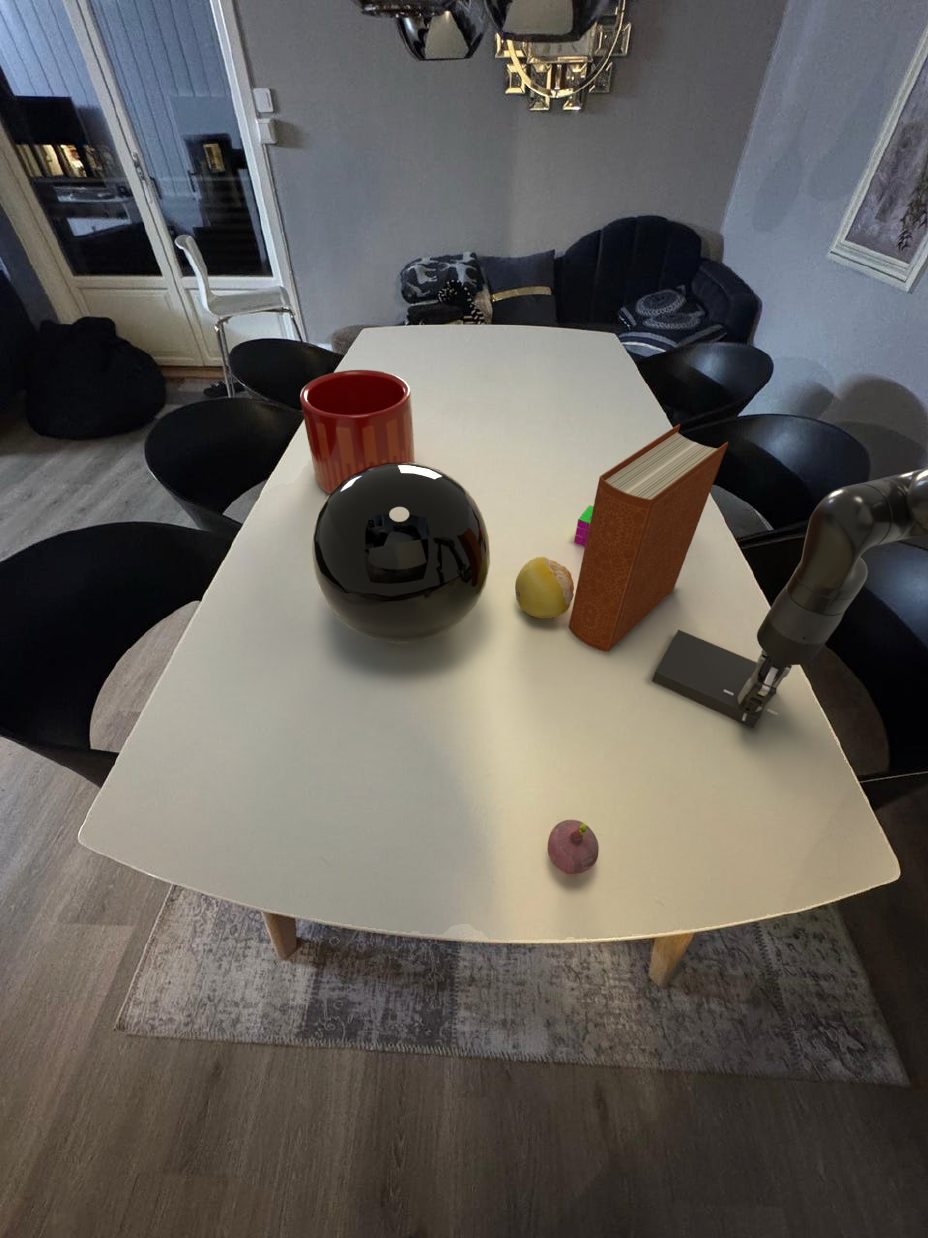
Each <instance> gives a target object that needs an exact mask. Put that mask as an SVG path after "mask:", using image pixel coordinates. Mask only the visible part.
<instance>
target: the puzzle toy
mask: <svg viewBox="0 0 928 1238" xmlns="http://www.w3.org/2000/svg"><path fill="white" fill-rule="evenodd" d="M593 506H594V505H591V504H589V505H588V506H587V507H586V509H585V510H584V511H583V513H582V514H581V515H580V516H579V518H577V524H576V529H575V530H576V531H575V534H574V540H573V542H574V543H575V544H578V545H580V546H584V547H585V545H586V540H587V535H588V531H589V526H590V521H591V516H592V511H593Z"/></svg>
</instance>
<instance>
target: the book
mask: <svg viewBox="0 0 928 1238" xmlns="http://www.w3.org/2000/svg"><path fill="white" fill-rule="evenodd" d="M681 424H682V423H681ZM681 424H680V423H678V424H677V425H675V426H673V427H672V428H671V429H669V430H668V431H666V432H665V433H663V434H661V435H660V436H659V437H657V438H656V439H654V440H653V441H651V442H650V443H648V444H646V445H644V446H643V447H642V448H640V449H639V450H637V451H636V452H634V453H633V454H631V455H629V457H626V458H625V459H624V460H622V461H621V462H619V463H617V464H616V465H615V466H613V467H612V468H609V470H607V471H606V472H604V473H602V474H601V475H600V476H599V477H598V478H599V479H598V483H597V488H596V491H595V492H596V493H595V497H594V502H593V505H592V506H593V511H592V516H591V521H590V526H589V531H588V535H587V540H586V545H585V546H584V549H583V556H582V560H581V565H580V568H579V569H580V570H579V575H578V580H577V585H576V589H575V594H574V597H573V603H572V607H571V614H570V618H569V623H568V629H569V630H570V632H571V633H572V634H573V635H574V636H575V637H576V638H577V639H578V640H579V641H581V642H582V643H584V644H586V645H587V646H590V647H591V648H594V649H596V650H599V651H603V652H606V653H608V652H609V651H610V650H612V649H613V647H615V646H616V645H617V644H618V643H619V642H620V641H621V640H622V639H623V638H624V637H625V636H626V635H627V634H628V633H629V632H631V630H632V629H633V628H634V627H636V626H637V625H638V624H639V623H640V622H641V621H642V620H643V619H644V618H645V617H646V616H647V615H649V613H651V612H652V611H653V610H654V609H655V608H656V607H657V606H658V605H659V604H660V603H661V602H662V601H663V600H664V599H666V598H667V596H669V594H671V593H672V592H673V591H674V589H675V588H676V584H677V582H678V579H679V576H680V573H681V571H682V568H683V565H684V564H685V563H684V562H685V560H686V557H687V555H688V552H689V549H690V546H691V544H692V541H693V538H694V537H695V533H696V531H697V528H698V524H699V522H700V520H701V517H702V514H703V512H704V510H705V507H706V504H707V501H708V498H709V496H710V493H711V490H712V488H713V485H714V482H715V479H716V478H717V474H718V471H719V469H720V466H721V464H722V461H723V458H724V456H725V453H726V450H727V448H728V445H729V442H728V441H726V442H725V443H723V444H722V445H721V446H719V447H718V448H716V447H711V446H706V445H703V444H701V443H698V442H696V441H693V440H690V439H689V438H687V437H684V436H683V435H682V434H680V433H679V431H680V427H681Z"/></svg>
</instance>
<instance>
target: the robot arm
mask: <svg viewBox="0 0 928 1238" xmlns="http://www.w3.org/2000/svg"><path fill="white" fill-rule="evenodd" d="M926 535H928V466H925V467H924V468H921V469H915V470H912V471H908V472H903V473H899V474H894V475H890V476H886V477H882V478H877V479H872V480H869V481H866V482H865V481H864V482H860V483H855V484H851V485H847V486H842V487H839V488H836V489H835V490H833V491H831V492H829V493H828V494H827V495H825V496H824V498H822V500H820V502H819V503H818V504H817V505H816V506H815V508H814V509H813V512H812V513H811V515H810V517H809V521H808V524H807V529H806V533H805V539H804V543H803V546H802V553H801V559H800V561H799V563H798V564H797V566H796V567H795V570H794V571H793V573H792V575H791V576H790V578H789V579H788V581H787V582H786V584H785V586H784V587H783V588H782V589H781V590H780V592H779V593H778V595H777V596H776V597H775V600H774V602H773V603H772V605H771V607H770V609H769V610H768V612H767V614H766V616H765V617H764V619H763V620H762V622H761V624H760V626H759V628H758V629H757V633H756V640H757V643H758V645H759V646H760V649H762V650H761V653H760V654H759V656H758V659H757V660H756V662H757V666H756V669H755V671H754V672H753V674H752V676H751V679H750V681H751V683H752V684H751V685H750V687H749V689H747V691H746V692H747V693H746V695H745V696H744V698H743V700H742V701H741V703H740V705H739V709H741V710H743V711H745V712H747V713H749V714H754V713H755V712H756V710H757V709H758V707H761V708H763V707H764V708H765V707H766V705H767V704H768V703H769V702H770V700H771V699H772V698H773V697H774V696H776V694H777V689H778V688H779V686H780V684H781V682H782V681H783V679H784V678H787V677H788V675H789V673H790V672H791V670H792V668H793V666H801V665H806V664H809V663H811V662H812V661H814V660H815V658H816V657H817V655H818V654H819V653H820V651H821V650H822V649H823V647H824V646H825V645H826V643H827V641H828V640H829V639H830V637H831V636H832V635H833V633H834V632H835V630H836V629H837V628H838V626H839V625H840V623H841V622H842V619H843V617H844V615H845V612H846V611H847V609H848V608H849V607H850V605H851V604H852V602H853V601H854V599H855V598H856V597H857V595H858V594H859V593H860V591H861V589H862V588H863V587H864V584H865V583H866V581H867V578H868V575H869V571H868V570H869V569H868V566H867V563H866V562H865V561H864V559H863V558H862V557H861V556H862V555H863V554H864V553H865V552H866V551H867V550H868V549H872V548H876V547H880V546H883V545H886V544H891V543H895V542H899V541H903V540H908V539H912V538H916V537H917V538H918V537H921V536H922V537H923V536H926Z"/></svg>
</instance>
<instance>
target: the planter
mask: <svg viewBox="0 0 928 1238" xmlns="http://www.w3.org/2000/svg"><path fill="white" fill-rule="evenodd" d="M299 400H300V405H301V410H302V411H301V412H302V415H303V421H304V426H305V432H306V437H307V442H308V446H309V452H310V457H311V462H312V468H313V473H314V476H315V481H316V482H317V484H318V486H319V487H320V488H321V489H322V490H323V491H324V492H326V493H328V494H330V493H331V492H332V491H333V490H334V489H335V488H336V487H337V486H338V485H339V484H340V483H341V482H342V481H343V480H345V479H346V478H348V477H349V476H351V475H353V474H354V473H356V472H358V471H360V470H362V469H365V468H367V467H369V466H372V465H377V464H381V463H385V462H410V463H416V462H415V461H416V459H415V458H416V457H415V442H414V441H415V440H414V424H413V423H414V422H413V408H412V393H411V388H410V386H409V384H408V383H407V382H406V381H405V380H404V379H403V378H401V377H399V376H397V375H394V374H392V373H388V372H385V371H380V370H373V369H349V370H348V369H347V370H342V371H341V370H340V371H335V372H332V373H328V374H325V375H322V376H319V377H317V378H315V379H313V380H311V381H310V382H308V383H307V384H305V386H304V387H303V388H302V389H301V391H300V394H299Z"/></svg>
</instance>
